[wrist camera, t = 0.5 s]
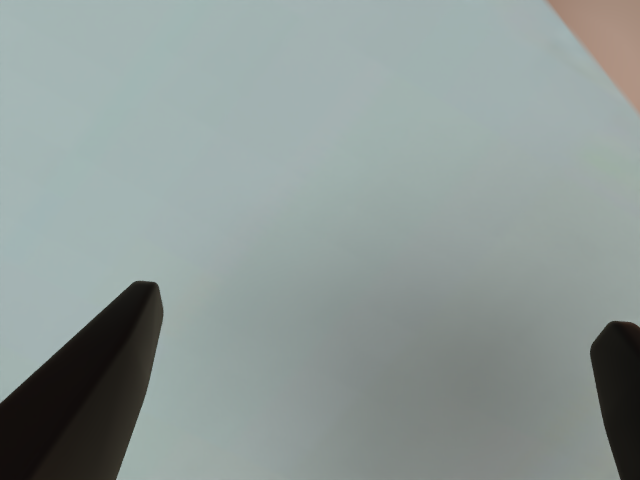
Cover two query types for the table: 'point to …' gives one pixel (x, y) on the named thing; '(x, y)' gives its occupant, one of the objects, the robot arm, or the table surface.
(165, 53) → the table surface
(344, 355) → the table surface
